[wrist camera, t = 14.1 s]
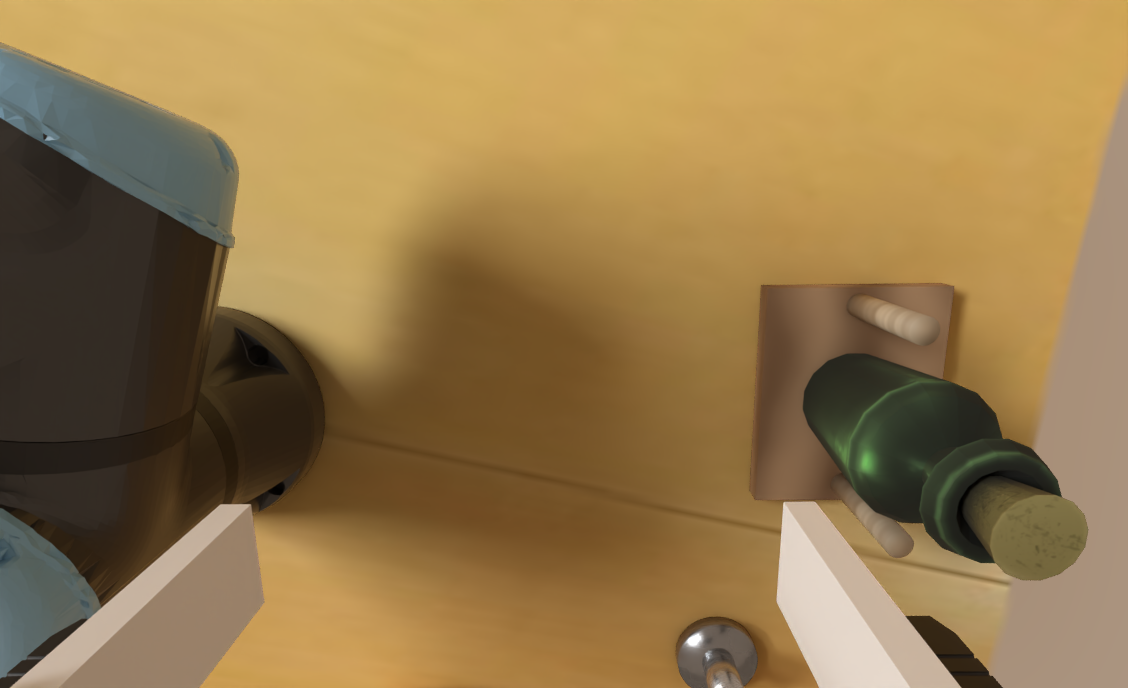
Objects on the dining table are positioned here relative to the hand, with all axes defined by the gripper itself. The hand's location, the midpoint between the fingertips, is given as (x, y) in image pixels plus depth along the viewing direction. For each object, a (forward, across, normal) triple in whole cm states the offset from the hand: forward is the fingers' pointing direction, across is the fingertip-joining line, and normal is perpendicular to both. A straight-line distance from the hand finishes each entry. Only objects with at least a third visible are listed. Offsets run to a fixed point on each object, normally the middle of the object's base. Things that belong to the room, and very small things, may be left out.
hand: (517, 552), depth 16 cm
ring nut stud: (+29, +12, -26) cm, 41 cm away
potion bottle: (+27, +20, -5) cm, 34 cm away
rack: (+29, +20, -5) cm, 35 cm away
